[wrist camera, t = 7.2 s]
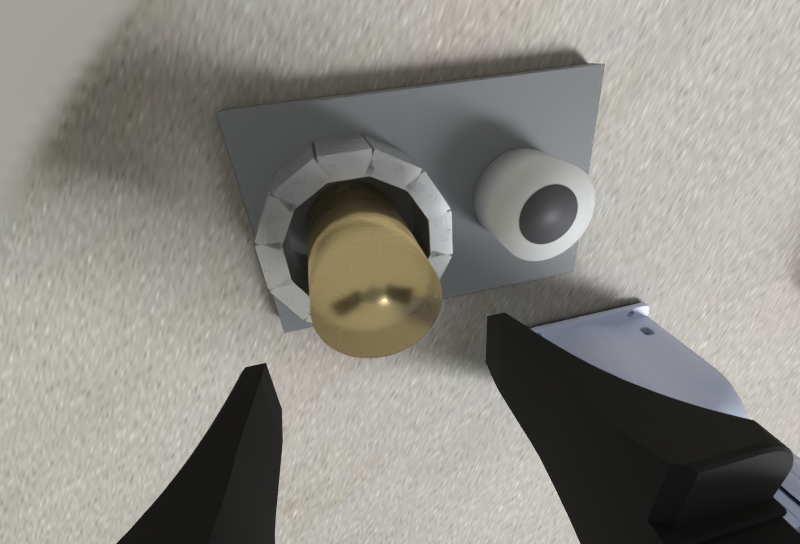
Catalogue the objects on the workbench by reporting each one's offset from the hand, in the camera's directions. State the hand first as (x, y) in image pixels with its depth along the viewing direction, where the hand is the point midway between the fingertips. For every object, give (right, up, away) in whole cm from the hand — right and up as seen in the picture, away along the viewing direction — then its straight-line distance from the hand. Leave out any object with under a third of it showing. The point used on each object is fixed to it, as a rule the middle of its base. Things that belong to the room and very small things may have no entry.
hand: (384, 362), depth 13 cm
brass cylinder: (-2, +5, +6) cm, 8 cm away
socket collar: (-2, +5, +6) cm, 8 cm away
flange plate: (+2, +7, +8) cm, 10 cm away
